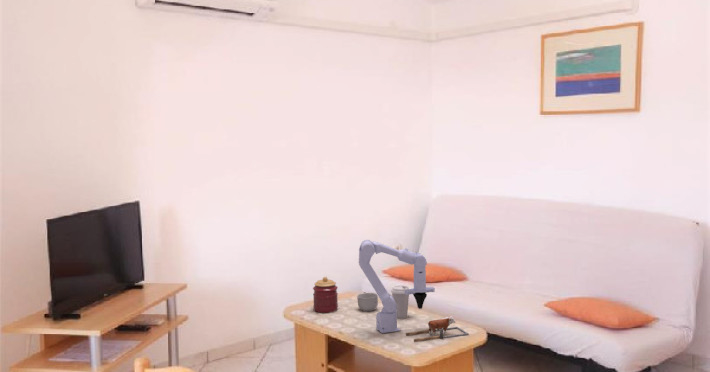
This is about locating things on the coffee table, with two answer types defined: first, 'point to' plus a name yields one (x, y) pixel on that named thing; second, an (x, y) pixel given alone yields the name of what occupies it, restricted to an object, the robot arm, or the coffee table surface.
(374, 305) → the teacup
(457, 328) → the frame
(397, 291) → the coffee cup
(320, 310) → the canister
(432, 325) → the bull figurine
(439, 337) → the pair of brown bars
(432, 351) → the coffee table surface
